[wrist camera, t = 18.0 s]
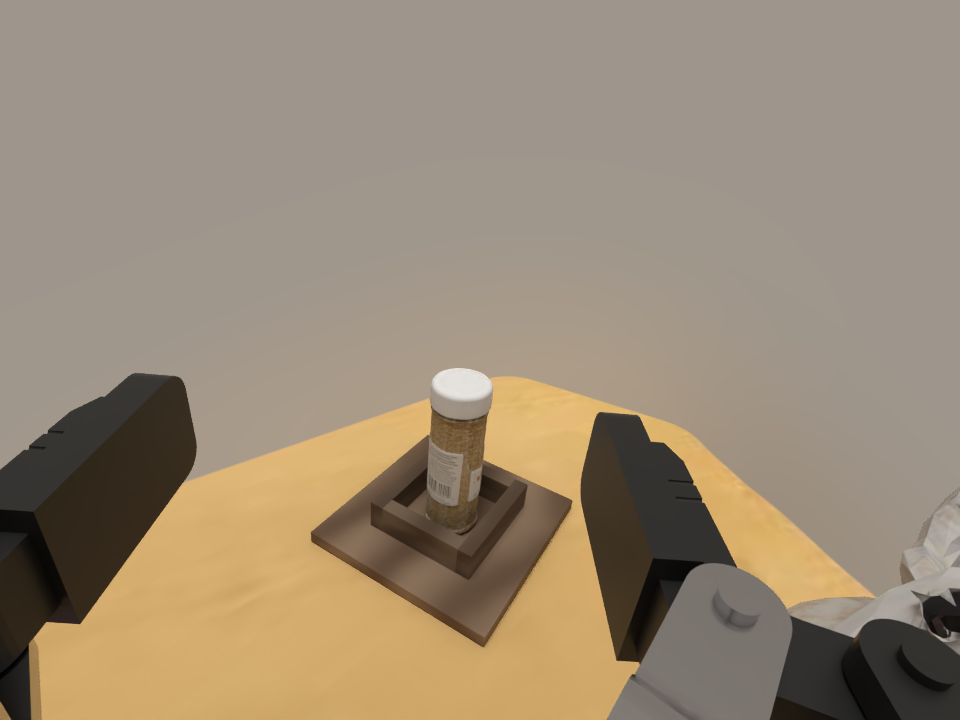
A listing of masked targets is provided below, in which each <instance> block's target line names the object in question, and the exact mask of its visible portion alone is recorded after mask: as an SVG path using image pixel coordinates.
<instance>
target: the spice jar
mask: <svg viewBox="0 0 960 720" xmlns="http://www.w3.org/2000/svg"><path fill="white" fill-rule="evenodd" d="M492 395H493V385H492V382H491V380H490V379H489V378H488V377H487V376H485V375H484V374H482V373H480V372H478V371H475V370H471V369H464V368H453V369H447V370H444V371H442V372H440V373H438V374H437V375H436V376H435V377H434V378H433V380H432V383H431V394H430V403H431V408H432V417H431V432H430V437H429V454H428V473H427V489H428V494H427V506H426V508H425V517H426V518H427V519H429V520H431V521H433V522H435V523H437V524H439V525H441V526H443V527H445V528H446V529H448V530H450V531H452V532H454V533H456V534H462V533H464V532H467V531H468V530H469V529H470V528H471V527H473V526H474V524H475V523H476V520H477V517H478V510H477V505H478V495H479V491H480V484H481V474H482V465H483V456H484V440H485V431H486V423H487V415H488V413H489V410H490V408H491V404H492Z"/></svg>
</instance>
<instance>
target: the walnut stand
mask: <svg viewBox="0 0 960 720" xmlns="http://www.w3.org/2000/svg"><path fill="white" fill-rule="evenodd" d="M429 437H430V436H429V435H427V436H426V437H425V438H424V439H422V440H421V441H420V442H419V443H418V444H416V445H415V446H414V447H413V448H412V449H410V450H409V451H408V452H407V453H406V454H404V455H403V456H402V457H401V458H400V459H398V460H397V461H396V462H395V463H394V464H392V465H391V466H390V467H389V468H388V469H386V470H385V471H384V472H383V473H382V474H380V475H379V476H378V477H377V478H376V479H374V480H373V481H372V482H371V483H370V484H368V485H367V486H366V487H365V488H364V489H362V490H361V491H360V492H359V493H358V494H356V495H355V496H354V497H353V498H352V499H350V500H349V501H348V502H347V503H345V504H344V505H343V506H342V507H341V508H339V509H338V510H337V511H336V512H335V513H333V514H332V515H331V516H330V517H329V518H327V519H326V520H325V521H324V522H323V523H321V524H320V525H319V526H318V527H317V528H315V529H314V530H313V531H312V532H311V540H312V542H314V543H315V544H317V545H319V546H320V547H322V548H323V549H325V550H327V551H328V552H330V553H332V554H333V555H335V556H336V557H338V558H340V559H341V560H343V561H345V562H346V563H348V564H349V565H351V566H353V567H354V568H356V569H357V570H359V571H361V572H362V573H364V574H366V575H367V576H369V577H370V578H372V579H374V580H375V581H377V582H379V583H380V584H382V585H383V586H385V587H387V588H388V589H390V590H392V591H393V592H395V593H396V594H398V595H400V596H401V597H403V598H405V599H406V600H408V601H409V602H411V603H413V604H414V605H416V606H418V607H419V608H421V609H422V610H424V611H426V612H427V613H429V614H431V615H432V616H434V617H435V618H437V619H439V620H440V621H442V622H444V623H445V624H447V625H448V626H450V627H452V628H453V629H455V630H457V631H458V632H460V633H461V634H463V635H465V636H466V637H468V638H470V639H471V640H473V641H474V642H476V643H478V644H479V645H481V646H482V647H484V645H485V644H486V642H487V641H488V639H489V637H490V636H491V634H492V633H493V631H494V629H495V628H496V626H497V625H498V623H499V621H500V620H501V618H502V617H503V615H504V613H505V612H506V610H507V609H508V607H509V606H510V604H511V602H512V601H513V599H514V598H515V596H516V594H517V593H518V591H519V590H520V588H521V586H522V585H523V583H524V582H525V580H526V579H527V577H528V575H529V574H530V572H531V571H532V569H533V567H534V566H535V564H536V563H537V561H538V559H539V558H540V556H541V555H542V553H543V551H544V550H545V548H546V547H547V545H548V544H549V542H550V540H551V539H552V537H553V536H554V534H555V532H556V531H557V529H558V528H559V526H560V524H561V523H562V521H563V520H564V518H565V516H566V515H567V513H568V512H569V510H570V509H571V504H572V500H570V499H568V498H566V497H564V496H562V495H559V494H557V493H555V492H553V491H551V490H548V489H546V488H544V487H542V486H539V485H537V484H535V483H533V482H531V481H528V480H526V479H524V478H522V477H520V476H517V475H515V474H513V473H511V472H508V471H506V470H504V469H502V468H500V467H497V466H495V465H493V464H491V463H489V462H486V461H484V460H483V465H482V474H481V484H480V491H479V495H478V505H477V510H478V517H477V520H476V523H475V524H474V526H473V527H471V528H470V529H469V530H468V531H467V532H464V533H462V534H456V533H454V532H452V531H450V530H448V529H446V528H445V527H443V526H441V525H439V524H437V523H435V522H433V521H431V520H429V519H427V518H426V517H425V508H426V506H427V494H428V489H427V473H428V454H429Z"/></svg>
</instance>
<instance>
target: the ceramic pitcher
mask: <svg viewBox="0 0 960 720" xmlns="http://www.w3.org/2000/svg"><path fill="white" fill-rule="evenodd" d="M900 574H901V581H902V585H901V586H898V587H895V588H892V589H890V590H888V591H887V592H886V593H884V594H882V595H881V596H879V597H878V598H876V599H875V598H869V597H844V598H824V599H818V600H813V601H807V602H802V603H799V604H797V605H795V606H793V607H791V608H788V609H787V611H788V613H789V615H791V616H793V617H796V618H798V619H801V620H803V621H806V622H809V623H812V624H815V625H818V626H821V627H824V628H827V629H830V630H833V631H835V632H838V633H841V634H844V635H847V636H850V637H853V638H855V637H856V636H857V634H858V633H859V631H860V630H861V628H862V627H863V626H864V625H865V624H866V623H867V622H869V621H871V620H874V619H892V620H898V621H901V622H904V623H908V624H910V625H913V626H915V627H918V628H920V629H922V630H924V631H926V632H927V633H929V634H931V635H933V636H934V637H936V638H937V639H939V640H941V641H942V642H943V643H945V644H946V645H948V646H949V647H950V648H952V649H953V650H954V651H955V652H956V653H957V654H959V655H960V487H959V488H958V489H957V490H956V491H955V492H953V493H952V494H951V495H949V496H948V497H947V498H946V499H945V500H944V501H943V502H942V503H941V504H940V505H939V506H938V508H937V509H936V510H935V511H934V512H933V513H932V514H931V516H930V517H929V518H928V519H927V520H926V521H925V522H924V524H923V526H922V529H921V532H920V534H919V537H918V539H917V541H916V543H915V544H914V545H913V547H912V548H911V549H908V550H904V551H903V554H902V560H901V564H900Z"/></svg>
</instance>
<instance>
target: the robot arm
mask: <svg viewBox="0 0 960 720" xmlns="http://www.w3.org/2000/svg"><path fill="white" fill-rule="evenodd" d="M196 448H197V446H196V438H195V433H194V428H193V423H192V418H191V413H190V408H189V403H188V398H187V393H186V388H185V385H184V383H183V381H182V380H181V379H180V378H179V377H176V376H167V375H154V374H142V373H134V374H131V375H130V376H128V377H127V378H126V379H125V380H124V381H123V382H121V383H120V384H119V385H118V386H117V387H116V388H115V389H113V390H112V391H111V392H110V393H109V394H108V395H106V396H105V397H99V398H97V399H95V400H93V401H91V402H89V403H87V404H85V405H83V406H81V407H79V408H77V409H75V410H73V411H71V412H69V413H68V414H67V415H66V416H65V417H63V418H62V419H61V420H60V421H58V422H57V423H56V424H55V425H54V426H52V427H51V428H50V429H49V430H48V433H47V434H43V435H42V436H41V437H39V438H38V439H37V440H36V441H34V442H33V443H32V444H31V445H30V446H29V450H24V451H22V452H21V453H20V454H19V455H17V456H16V457H15V458H14V459H13V460H12V461H10V462H9V463H8V464H7V465H5V467H3V468H2V469H1V470H0V720H42V715H41V695H40V674H39V654H38V647H37V644H36V642H35V640H34V637H35V636H36V634H37V633H38V632H39V630H40V629H41V628H42V627H43V625H44V624H45V623H46V622H55V623H71V624H81V622H82V621H83V619H84V618H85V617H86V615H87V614H88V613H89V611H90V610H91V608H92V607H93V606H94V604H95V603H96V602H97V600H98V599H99V597H100V596H101V595H102V593H103V592H104V591H105V589H106V588H107V586H108V585H109V584H110V582H111V581H112V580H113V578H114V577H115V575H116V574H117V573H118V571H119V570H120V569H121V567H122V566H123V564H124V563H125V562H126V560H127V559H128V558H129V556H130V555H131V553H132V552H133V551H134V549H135V548H136V547H137V545H138V544H139V542H140V541H141V540H142V538H143V537H144V535H145V534H146V533H147V531H148V530H149V529H150V527H151V526H152V524H153V523H154V522H155V520H156V519H157V518H158V516H159V515H160V513H161V512H162V511H163V509H164V508H165V507H166V505H167V504H168V502H169V501H170V500H171V498H172V497H173V496H174V494H175V493H176V491H177V490H178V489H179V487H180V486H181V485H182V483H183V482H184V480H185V479H186V478H187V476H188V475H189V473H190V471H191V469H192V467H193V465H194V461H195V457H196ZM693 482H694V481H693V479H692V477H691V475H690V473H689V472H688V470H687V468H686V466H685V464H684V462H683V460H681V459H680V458H679V457H678V456H677V455H676V454H675V453H674V452H673V451H672V450H671V449H670V448H669V447H668V446H667V445H666V444H664V443H659V442H651V441H650V439H649V437H648V434H647V432H646V430H645V428H644V426H643V423H642V421H641V419H640V417H639V416H637V415H629V414H617V413H605V412H599V413H598V414H597V416H596V418H595V421H594V425H593V430H592V434H591V438H590V442H589V446H588V450H587V455H586V459H585V463H584V467H583V471H582V477H581V503H582V508H583V513H584V517H585V522H586V526H587V531H588V535H589V540H590V544H591V549H592V553H593V557H594V562H595V566H596V571H597V575H598V580H599V584H600V589H601V593H602V598H603V602H604V606H605V611H606V615H607V620H608V624H609V629H610V633H611V638H612V642H613V647H614V651H615V655H616V660H617V661H631V662H639V663H640V666H639V668H638V670H637V672H636V673H635V675H634V674H632V675H631V677H630V678H629V680H628V681H627V683H626V685H625V687H624V688H623V690H622V692H621V694H620V696H619V698H618V700H617V701H616V703H615V705H614V707H613V709H612V711H611V713H610V715H609V716H608V718H607V720H960V655H959V654H957V653H956V652H955V651H954V650H953V649H952V648H950V647H949V646H948V645H946V644H945V643H943V642H942V641H941V640H939V639H937V638H936V637H934V636H933V635H931V634H929V633H927V632H926V631H924V630H922V629H920V628H918V627H915V626H913V625H910V624H908V623H904V622H901V621H898V620H892V619H874V620H871V621H869V622H867V623H866V624H865V625H864V626H863V627H862V628H861V630H860V631H859V633H858V634H857V636H856V637H855V638H853V637H850V636H847V635H844V634H841V633H838V632H835V631H833V630H830V629H827V628H824V627H821V626H818V625H815V624H812V623H809V622H806V621H803V620H801V619H798V618H796V617H793V616H791V615H789V613H788V611H787V609H786V607H785V605H784V604H783V602H782V601H781V600H780V598H779V597H778V596H777V595H776V594H775V593H774V591H773V590H771V589H770V588H769V587H768V586H767V585H766V584H765V583H763V582H762V581H761V580H759V579H758V578H756V577H755V576H753V575H751V574H750V573H748V572H746V571H743V570H741V569H739V568H737V566H736V564H735V562H734V560H733V558H732V556H731V554H730V552H729V550H728V548H727V546H726V544H725V542H724V540H723V538H722V536H721V535H720V533H719V531H718V529H717V527H716V525H715V523H714V521H713V519H712V517H711V515H710V513H709V511H708V509H707V507H706V505H705V503H702V497H701V495H700V493H699V491H698V489H697V487H696V486H694V485H693Z"/></svg>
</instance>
